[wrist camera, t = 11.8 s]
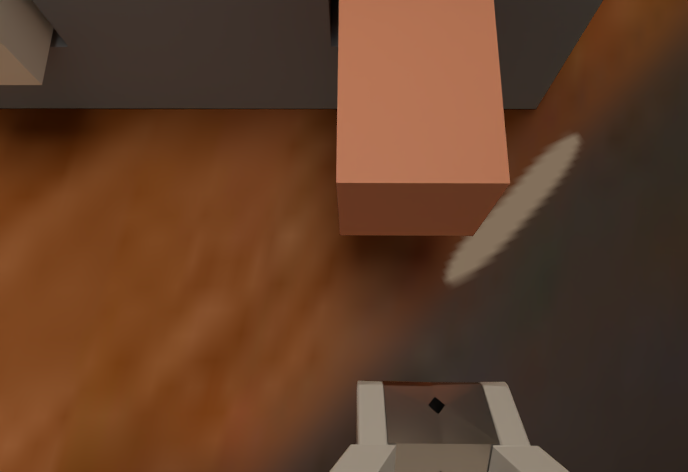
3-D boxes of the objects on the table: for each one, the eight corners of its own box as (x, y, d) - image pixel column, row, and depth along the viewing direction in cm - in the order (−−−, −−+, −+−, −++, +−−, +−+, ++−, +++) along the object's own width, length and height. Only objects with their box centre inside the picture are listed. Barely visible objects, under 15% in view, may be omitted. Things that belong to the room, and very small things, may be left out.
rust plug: (473, 236, 16) (510, 183, 12) (340, 235, 16) (336, 182, 13) (454, -46, 19) (479, -156, 16) (343, -46, 20) (341, -155, 16)
